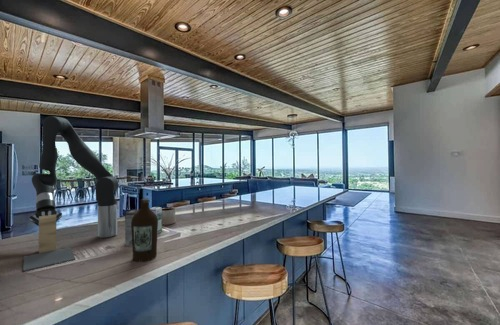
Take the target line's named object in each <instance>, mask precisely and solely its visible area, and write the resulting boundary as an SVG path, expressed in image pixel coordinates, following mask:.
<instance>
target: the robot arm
mask: <svg viewBox="0 0 500 325" xmlns="http://www.w3.org/2000/svg"><path fill="white" fill-rule="evenodd" d="M58 134H59V135H60V136H61V137H62V139H64V140H65V142H66V143H67V145H68V150H69V153H70V155H71V157H72V158H73V160H75V162H76V163H77V164H78V165H79V166H80V167H82V168H83V169H84V170H86V171H87V172H88V173H90V174H92V175H93V176H94V177H95V178H96V180H97V181H96V183H95V199H96V200H95V201H96V202H97V238H101V239H103V238H111V237H114V236H117V234H118V213H117V212H118V211H117V208H118V207H117V205H118V203H117V202H118V201H117V199H116V198H115V191H117V190H118V188H119V180H118V179H117V178H116V177H115V176H114V175H113V173H111V172H110V171H109V170H107V168H106V167H105V166H104V165H103V164H102V162H101V160H100V159H99V158H98V156H96V154H95V153H94V151H92V150H91V149H90V147H89V146H88V145H87V144H86V143H85V142H84V140H83V139H82V138H81V137H80V136H79V134H78V133H77V131H76V130H75V129H74V127H73V125H72V124H71V123H70V121H69V120H68V119H66V118H64V117H61V116H54V115H49V116H47V117H45V118H44V119H43V122H42V149H41V157H40V159H39V165H38V166H39V167H38V168H39V170H40V169H41V170H43V171H46V172H49V173H41V172H40V173H39V172H38V173H34V174H33V175H32V177H31V184H32V186H33V187H34V189H35V192H36V197H35V198H36V200H35V213H34V215H30V216H29V221H30V222H31V223H33V224H34V225H36V226H37V227H39V217H40V216H48V215H56V223H57V222H58V221H59V220H60V219H61V218H62V217H63V212H58V211H57V209H56V198H55V192H54V190H55V189H54V188H53V187H54V186H55V185H56V184H57V181H58V180H57V179H58V178H57V177H58V176H57V171H56V168H57V163H58V155H59V154H58V150H57V146H56V140H57V135H58Z"/></svg>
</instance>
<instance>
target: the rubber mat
mask: <svg viewBox="0 0 500 325" xmlns="http://www.w3.org/2000/svg"><path fill="white" fill-rule="evenodd" d="M75 259H77V258H76V256H75V255H74V252H73V251H72V248H71V247H65V248H61V249H56V250H54V251H49V252H44V253H39V252H38V253H35V254H31V255H30V254H29V255H24V256H23V266H22V267H23V269H22V271H23V272H29V271H33V270H37V269H41V268H45V267H46V268H47V267H49V266H54V265H59V264H63V263H67V261H68V262H71V260H72V261H76V260H75Z"/></svg>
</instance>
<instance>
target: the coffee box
mask: <svg viewBox="0 0 500 325" xmlns="http://www.w3.org/2000/svg"><path fill="white" fill-rule="evenodd" d="M139 210H140V209H131V210H129V211H128V212H125V213H124V246H127V247H128V246H131V247H132V230H131V221H132V218H133V216H134V215H135V214H136V213H137V212H138V211H139Z"/></svg>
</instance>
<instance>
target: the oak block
mask: <svg viewBox="0 0 500 325" xmlns="http://www.w3.org/2000/svg"><path fill="white" fill-rule="evenodd" d="M38 220H39V226H38V254H39V253H44V252H49V251H54V250H57V222H56V215H48V216H40V217H39V219H38Z"/></svg>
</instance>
